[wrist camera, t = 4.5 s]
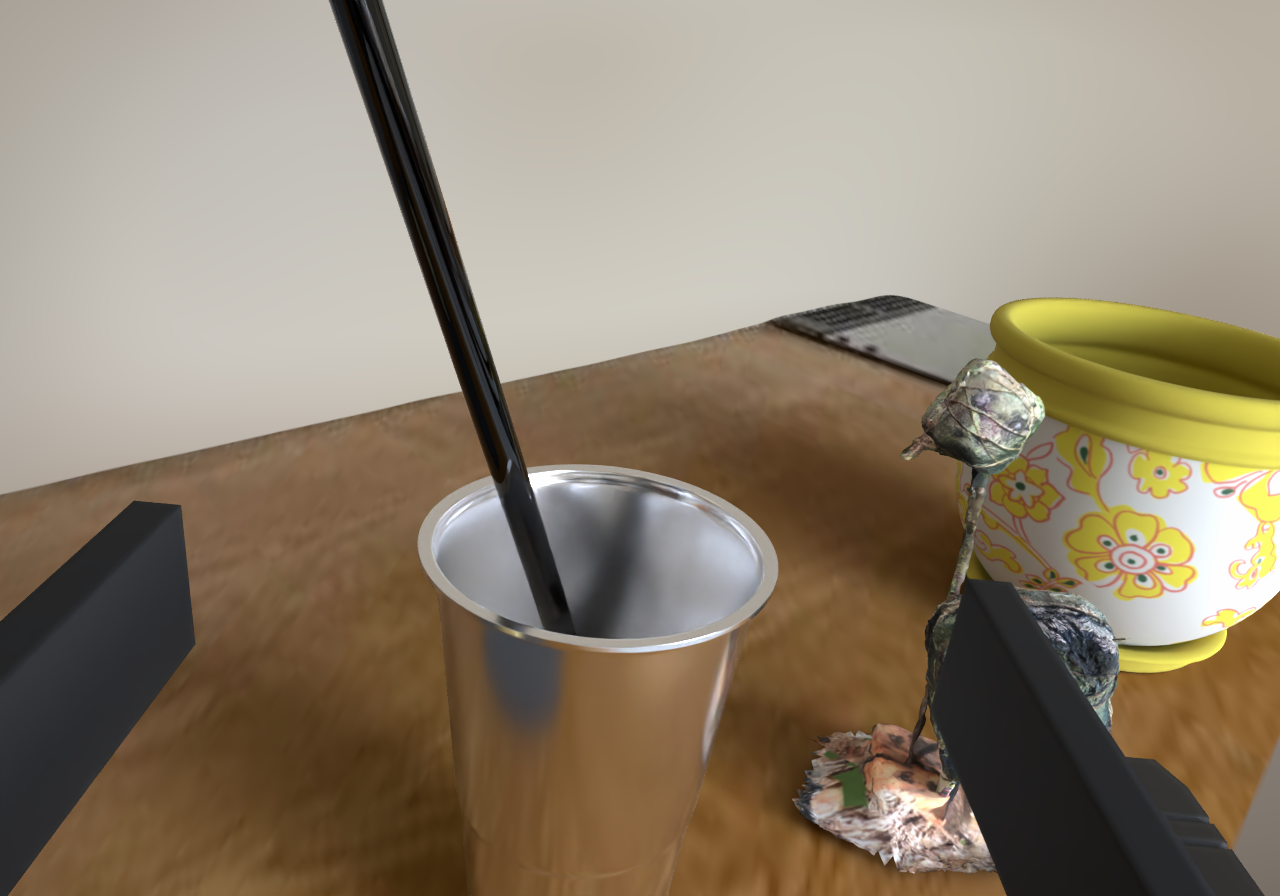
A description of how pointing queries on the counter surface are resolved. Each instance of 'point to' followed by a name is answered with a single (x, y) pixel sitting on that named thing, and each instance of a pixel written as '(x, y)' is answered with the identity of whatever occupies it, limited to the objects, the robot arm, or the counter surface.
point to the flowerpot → (1138, 472)
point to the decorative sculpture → (908, 762)
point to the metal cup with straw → (562, 598)
